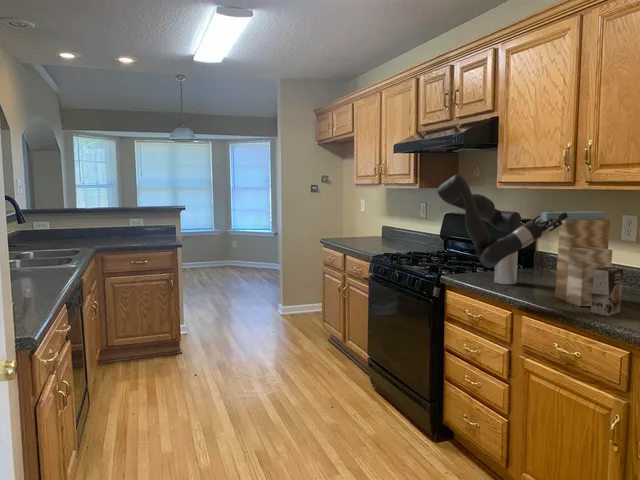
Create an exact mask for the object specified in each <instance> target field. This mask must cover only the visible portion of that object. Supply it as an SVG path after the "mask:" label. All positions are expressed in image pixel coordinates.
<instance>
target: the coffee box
mask: <svg viewBox="0 0 640 480" xmlns="http://www.w3.org/2000/svg"><path fill="white" fill-rule="evenodd" d="M623 276H624V269H623V268H617V267H611V268H609V267H603V268H598V269H594V279H593V291H592V304H591V307H590V313H592V314H596V313H597V315H601V316H605V315H606V317H609V316H612V315H615V314H618V313H619V314H620V312H621V302H622V301H621V300H622V289H623V287H622V286H623Z"/></svg>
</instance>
